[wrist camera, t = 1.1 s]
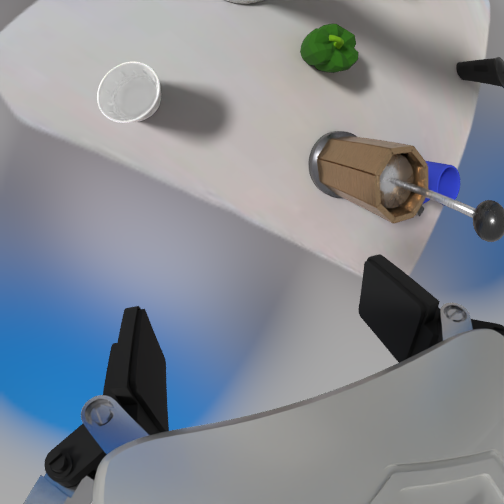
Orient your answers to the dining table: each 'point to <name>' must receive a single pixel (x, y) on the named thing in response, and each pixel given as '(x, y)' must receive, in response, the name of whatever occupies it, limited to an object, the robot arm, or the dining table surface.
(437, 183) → the mug
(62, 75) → the dining table surface
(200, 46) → the dining table surface
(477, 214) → the plunger
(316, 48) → the bell pepper
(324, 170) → the tan octagonal hollow container
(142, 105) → the white cup
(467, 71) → the drinking cup
